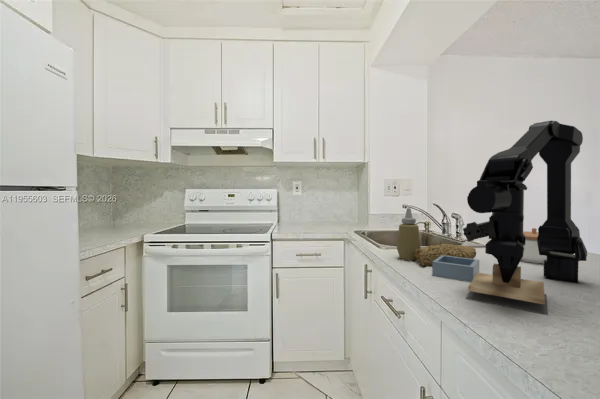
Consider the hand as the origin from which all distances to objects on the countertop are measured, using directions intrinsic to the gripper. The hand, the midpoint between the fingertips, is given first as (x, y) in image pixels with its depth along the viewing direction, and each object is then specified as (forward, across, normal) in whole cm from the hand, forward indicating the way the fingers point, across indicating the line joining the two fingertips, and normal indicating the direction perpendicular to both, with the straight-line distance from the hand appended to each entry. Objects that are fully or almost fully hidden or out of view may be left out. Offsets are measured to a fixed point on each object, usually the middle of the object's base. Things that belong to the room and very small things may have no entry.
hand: (506, 280), depth 66 cm
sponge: (+5, -26, -18) cm, 32 cm away
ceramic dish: (+4, -12, -12) cm, 18 cm away
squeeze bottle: (+4, -25, -30) cm, 40 cm away
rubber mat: (+4, 0, 0) cm, 4 cm away
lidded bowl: (+4, -47, +4) cm, 47 cm away
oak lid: (+2, 0, 0) cm, 2 cm away
